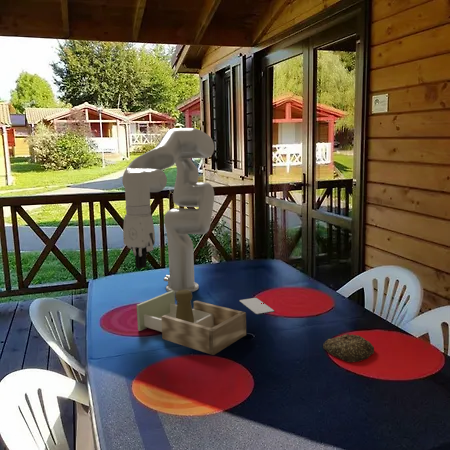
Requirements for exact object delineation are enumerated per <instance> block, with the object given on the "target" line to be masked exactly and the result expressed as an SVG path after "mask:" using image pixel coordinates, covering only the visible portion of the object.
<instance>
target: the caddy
mask: <svg viewBox="0 0 450 450" xmlns="http://www.w3.org/2000/svg"><path fill="white" fill-rule="evenodd" d="M193 309H196V310H200V311H204V312H207V313H211V314H214V326H212V327H206V326H202V325H199V324H195V323H192V322H188V321H184V320H181V319H177V318H174V317H170V316H167V315H164V316H161V319H162V332H161V334H162V335H161V337H162V339H163V340H165V341H166V342H167V341H168V342H171V343H174V344H177V345H179V346H180V345H181V346H183V347H186V348H189V349H193V350H196V351H199V352H202V353H206V354H208V355H212V356H215V355H217V354H218V353H220V352H221V351H223V350H224V349H226V348H228V347H230V346H231V345H232V344H234V343H235V342H237V341H239V340H240V339H242V338H244V337H246V336H247V312H245V311H242V310H237V309H232V308H229V307H225V306H220V305H218V304H217V305H216V304H211V303H209V302H204V301H200V300H194V301H193Z"/></svg>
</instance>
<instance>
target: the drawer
mask: <svg viewBox="0 0 450 450" xmlns="http://www.w3.org/2000/svg"><path fill="white" fill-rule="evenodd" d="M175 294H176V293H174V291H173V290H172V291H169V292H168V291H166V292H165V293H162V294H159V295H157V296H154V297H152V298H150V299H148V300H145V301H143V302H141V303H137V304H136V317H137V318H136V319H137V331H139V332H140V331H144V330H146V329H147V328H148V329H151V330H155V331H157V332H161V333H162V319H161V316H164V315H167V316H170V317H174V318H176V310H177V303H176V299H175ZM192 311H193V317H194V323H195V324H199V325H202V326H206V327H212V326H214V314H211V313H207V312H204V311H200V310H196V309H194V308H192Z"/></svg>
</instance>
